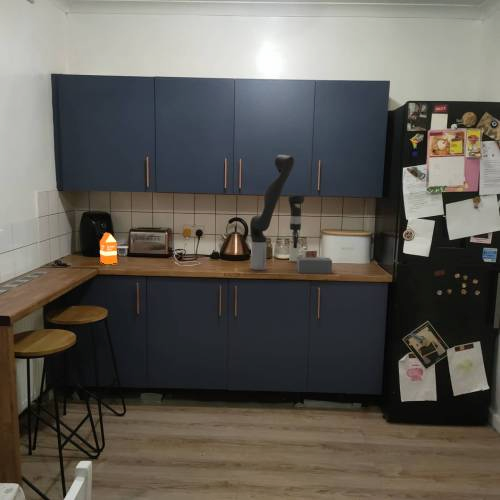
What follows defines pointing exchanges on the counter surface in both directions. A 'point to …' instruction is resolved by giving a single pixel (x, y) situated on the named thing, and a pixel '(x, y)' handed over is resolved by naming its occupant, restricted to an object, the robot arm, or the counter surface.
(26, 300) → the counter surface
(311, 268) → the dispenser
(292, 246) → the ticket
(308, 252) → the small box
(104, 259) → the orange juice
